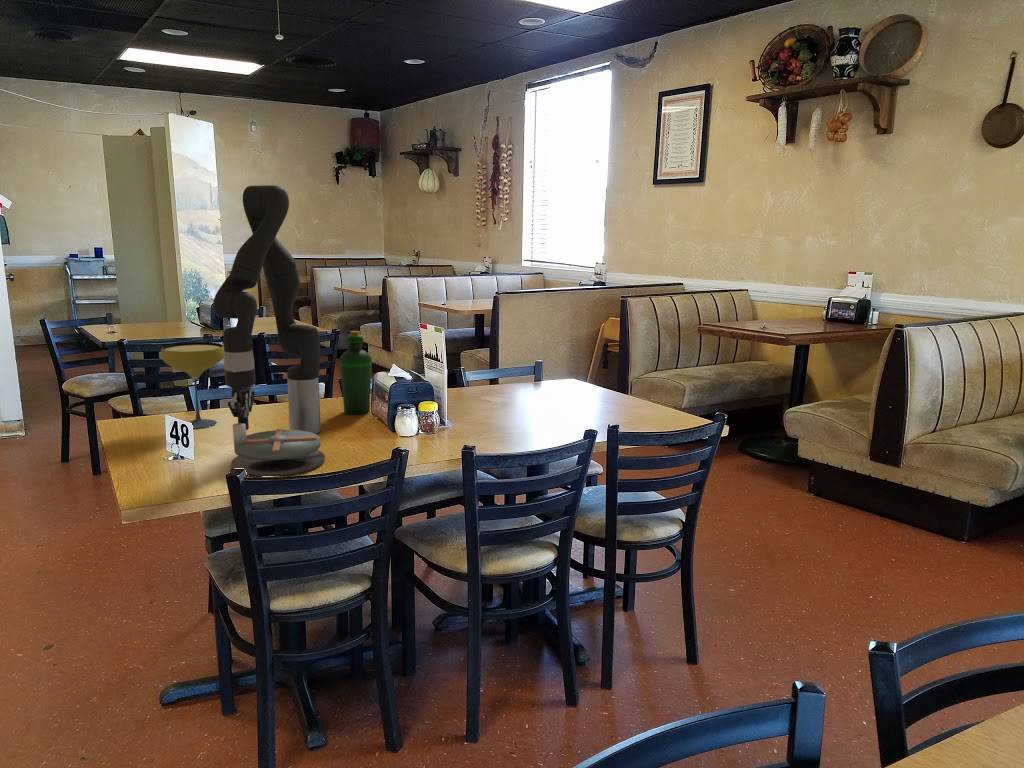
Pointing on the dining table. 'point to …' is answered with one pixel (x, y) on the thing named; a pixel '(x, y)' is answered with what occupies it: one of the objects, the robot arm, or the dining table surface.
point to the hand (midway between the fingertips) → (243, 430)
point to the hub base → (280, 465)
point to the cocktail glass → (194, 366)
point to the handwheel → (274, 443)
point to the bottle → (356, 376)
